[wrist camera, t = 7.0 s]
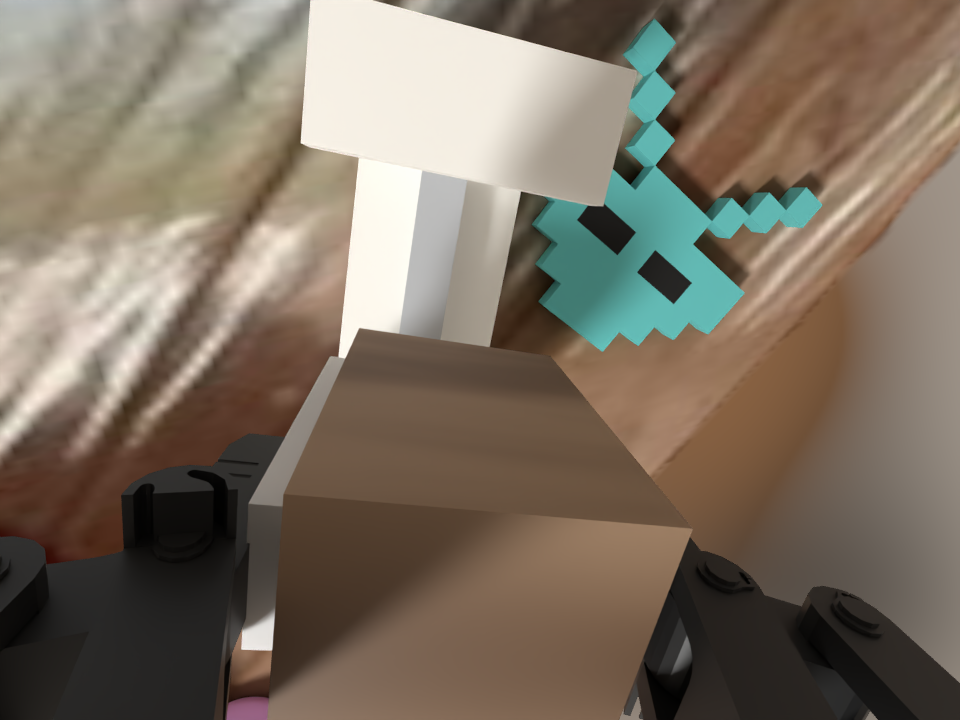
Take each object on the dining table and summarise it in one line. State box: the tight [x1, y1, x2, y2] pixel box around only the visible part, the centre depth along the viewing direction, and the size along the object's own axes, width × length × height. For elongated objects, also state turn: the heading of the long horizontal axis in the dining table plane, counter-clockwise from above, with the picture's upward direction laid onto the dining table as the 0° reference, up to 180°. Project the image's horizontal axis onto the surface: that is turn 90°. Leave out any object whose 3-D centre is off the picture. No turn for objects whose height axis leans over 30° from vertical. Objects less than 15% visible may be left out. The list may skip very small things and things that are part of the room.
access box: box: [301, 0, 637, 358], centre depth 29 cm, size 24×12×18 cm, turn 169°
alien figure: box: [532, 19, 822, 352], centre depth 38 cm, size 20×2×20 cm
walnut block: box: [267, 328, 693, 720], centre depth 10 cm, size 5×5×7 cm
